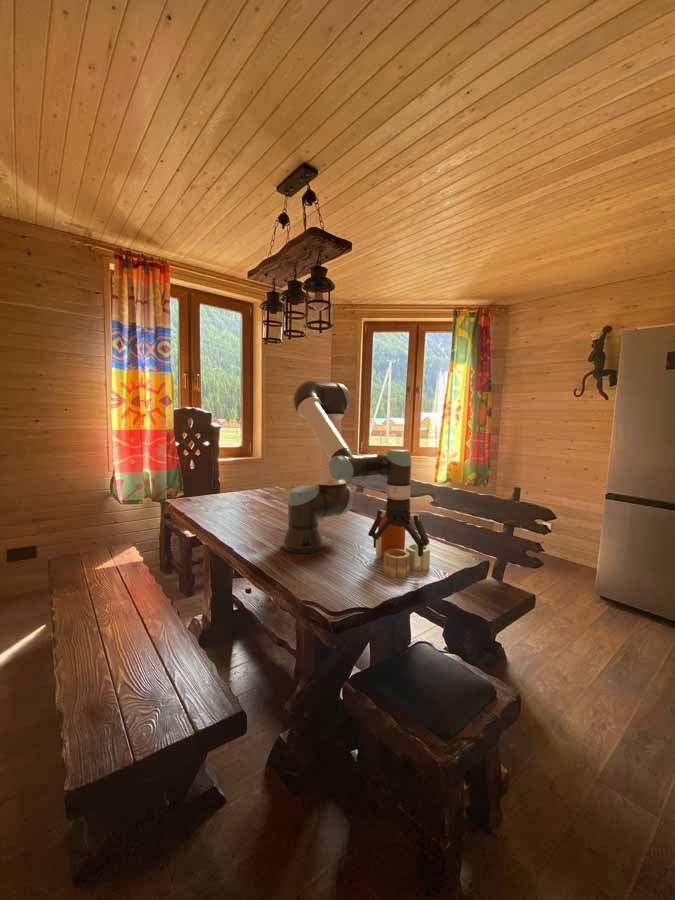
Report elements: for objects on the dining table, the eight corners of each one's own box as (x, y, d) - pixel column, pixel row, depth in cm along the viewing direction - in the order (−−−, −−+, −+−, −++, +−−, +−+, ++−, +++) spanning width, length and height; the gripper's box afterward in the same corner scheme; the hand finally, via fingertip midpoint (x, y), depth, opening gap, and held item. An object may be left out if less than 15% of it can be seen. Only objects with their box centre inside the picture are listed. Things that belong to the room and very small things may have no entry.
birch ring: (380, 573, 121) (380, 554, 120) (389, 565, 128) (390, 547, 127) (403, 579, 117) (404, 559, 116) (412, 570, 124) (412, 551, 123)
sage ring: (405, 569, 125) (405, 550, 124) (405, 560, 133) (406, 542, 132) (429, 571, 123) (430, 552, 123) (428, 562, 131) (429, 544, 131)
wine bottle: (389, 563, 129) (391, 478, 127) (372, 554, 138) (373, 474, 135) (410, 558, 135) (412, 476, 132) (392, 550, 143) (394, 472, 140)
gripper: (358, 495, 123) (358, 557, 125) (433, 504, 111) (431, 573, 112) (368, 491, 130) (368, 551, 131) (440, 499, 117) (438, 565, 119)
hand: (397, 561), depth 122 cm, fingers open, 13 cm apart
